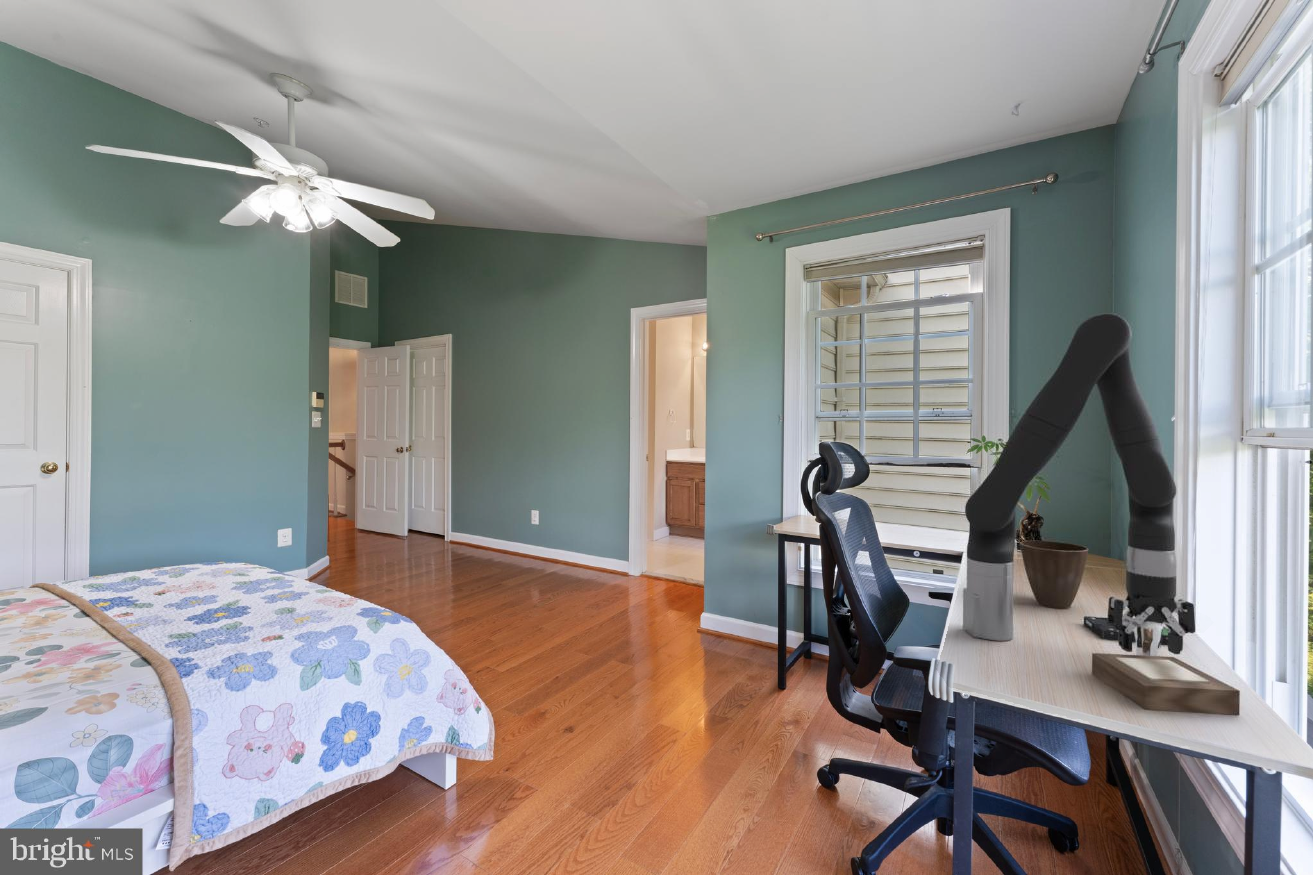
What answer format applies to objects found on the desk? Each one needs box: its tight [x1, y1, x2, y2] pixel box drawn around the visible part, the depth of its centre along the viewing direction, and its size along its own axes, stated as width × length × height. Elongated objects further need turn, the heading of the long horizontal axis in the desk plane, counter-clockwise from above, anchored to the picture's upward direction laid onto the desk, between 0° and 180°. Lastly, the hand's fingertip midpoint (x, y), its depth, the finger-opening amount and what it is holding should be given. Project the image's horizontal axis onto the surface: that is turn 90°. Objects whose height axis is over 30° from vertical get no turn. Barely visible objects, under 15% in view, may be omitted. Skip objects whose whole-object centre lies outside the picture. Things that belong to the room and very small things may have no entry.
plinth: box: [1091, 652, 1241, 716], centre depth 100 cm, size 14×14×4 cm
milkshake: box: [1134, 621, 1164, 656], centre depth 112 cm, size 5×5×10 cm
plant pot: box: [1020, 540, 1089, 610], centre depth 151 cm, size 15×15×16 cm
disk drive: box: [1083, 615, 1170, 646], centre depth 129 cm, size 10×3×15 cm
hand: (1150, 651), depth 112 cm, fingers open, 8 cm apart
